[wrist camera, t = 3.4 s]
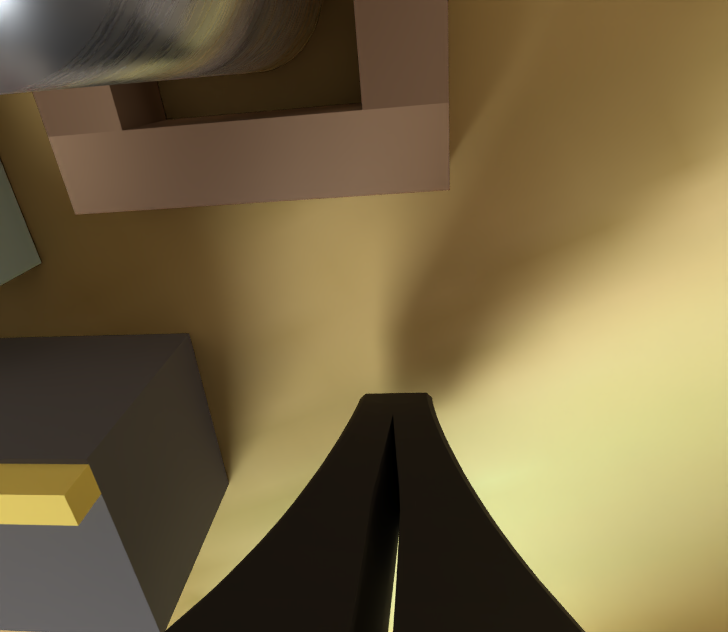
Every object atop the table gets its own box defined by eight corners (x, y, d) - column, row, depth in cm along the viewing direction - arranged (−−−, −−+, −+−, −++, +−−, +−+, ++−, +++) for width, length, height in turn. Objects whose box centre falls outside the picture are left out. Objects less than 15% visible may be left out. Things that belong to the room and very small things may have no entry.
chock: (191, 329, 11) (61, 490, 7) (230, 479, 13) (147, 672, 9) (-94, 336, 12) (-363, 484, 8) (-16, 476, 14) (-196, 653, 10)
